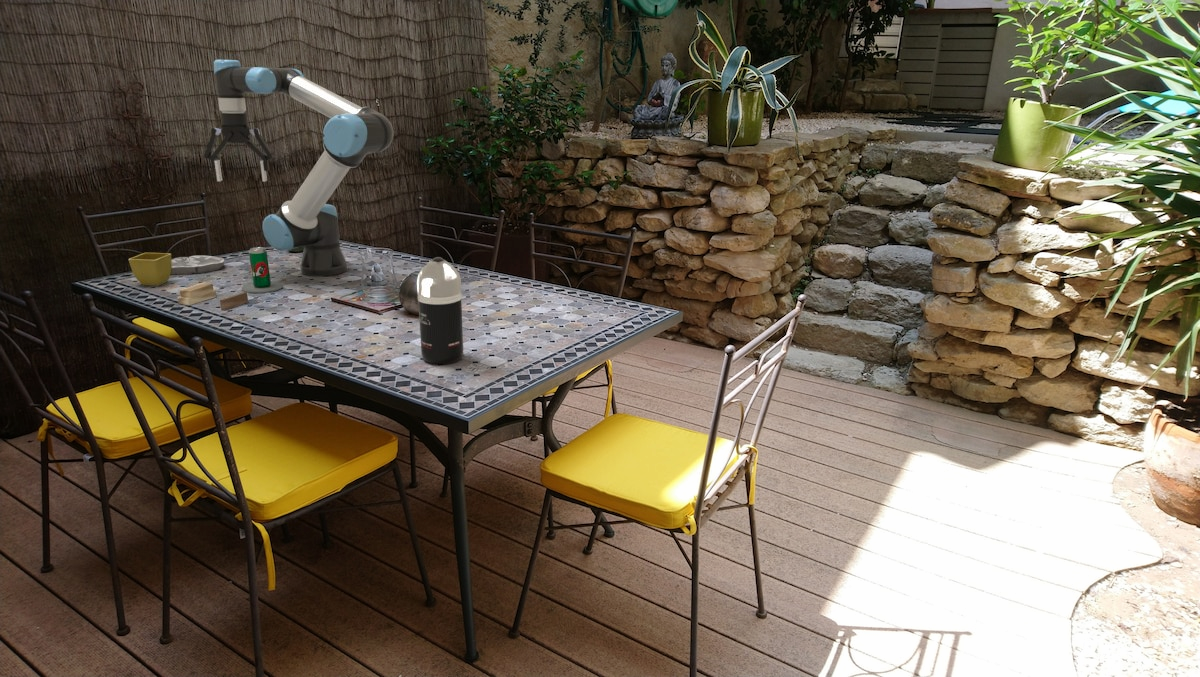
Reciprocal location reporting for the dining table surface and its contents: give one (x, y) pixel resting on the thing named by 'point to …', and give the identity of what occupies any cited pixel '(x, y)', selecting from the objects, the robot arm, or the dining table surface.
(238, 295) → the set of wooden blocks
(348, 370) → the dining table surface
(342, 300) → the dining table surface
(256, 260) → the soda can
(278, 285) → the pad
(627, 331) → the dining table surface
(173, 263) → the brain slice
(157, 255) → the flower pot
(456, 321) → the black and cream bottle
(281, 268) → the dining table surface
